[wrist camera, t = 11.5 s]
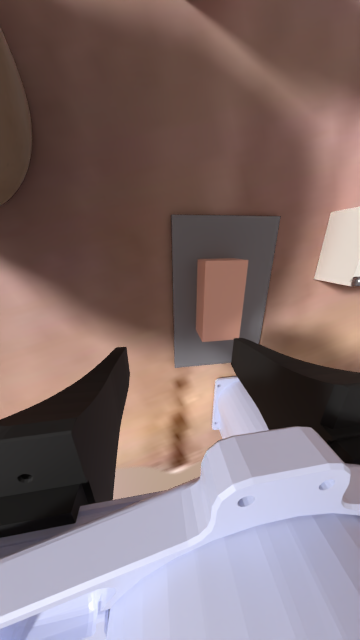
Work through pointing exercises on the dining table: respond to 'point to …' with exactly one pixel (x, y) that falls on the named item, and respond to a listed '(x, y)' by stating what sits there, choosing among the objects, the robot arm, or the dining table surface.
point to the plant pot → (12, 125)
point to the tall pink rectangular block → (220, 298)
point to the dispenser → (341, 249)
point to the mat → (218, 243)
